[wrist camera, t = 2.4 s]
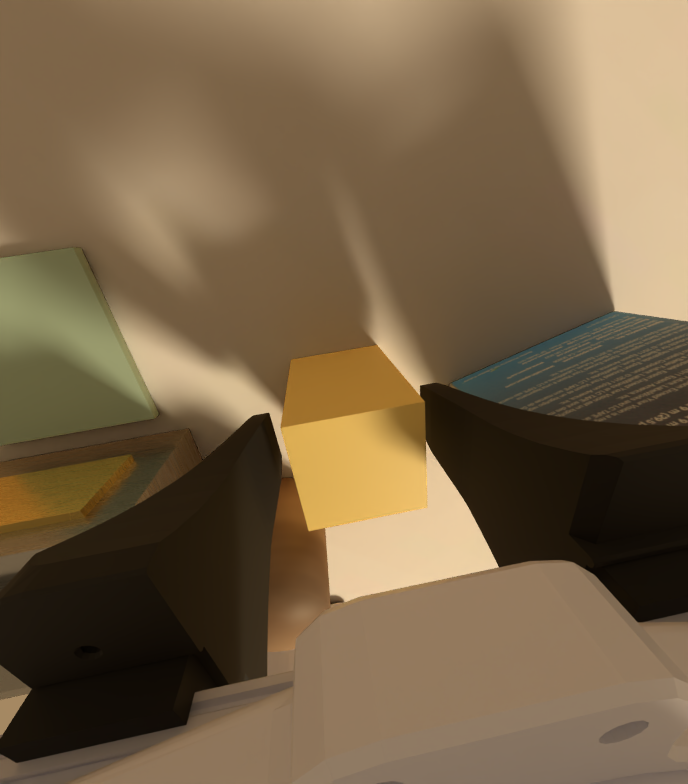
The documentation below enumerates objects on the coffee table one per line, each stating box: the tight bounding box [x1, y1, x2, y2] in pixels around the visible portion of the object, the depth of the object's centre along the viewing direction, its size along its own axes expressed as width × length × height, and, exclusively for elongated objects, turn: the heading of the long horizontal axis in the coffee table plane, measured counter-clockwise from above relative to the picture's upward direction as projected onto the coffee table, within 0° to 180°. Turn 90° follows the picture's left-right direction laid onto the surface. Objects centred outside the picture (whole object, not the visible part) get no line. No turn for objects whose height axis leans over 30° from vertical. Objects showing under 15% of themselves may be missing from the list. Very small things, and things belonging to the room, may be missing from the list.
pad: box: [0, 247, 159, 446], centre depth 12 cm, size 7×7×1 cm
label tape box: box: [449, 311, 688, 426], centre depth 10 cm, size 9×4×12 cm, turn 113°
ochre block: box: [281, 345, 427, 531], centre depth 11 cm, size 4×4×6 cm
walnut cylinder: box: [267, 478, 331, 652], centre depth 14 cm, size 4×4×6 cm
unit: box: [0, 429, 202, 700], centre depth 12 cm, size 7×9×6 cm
